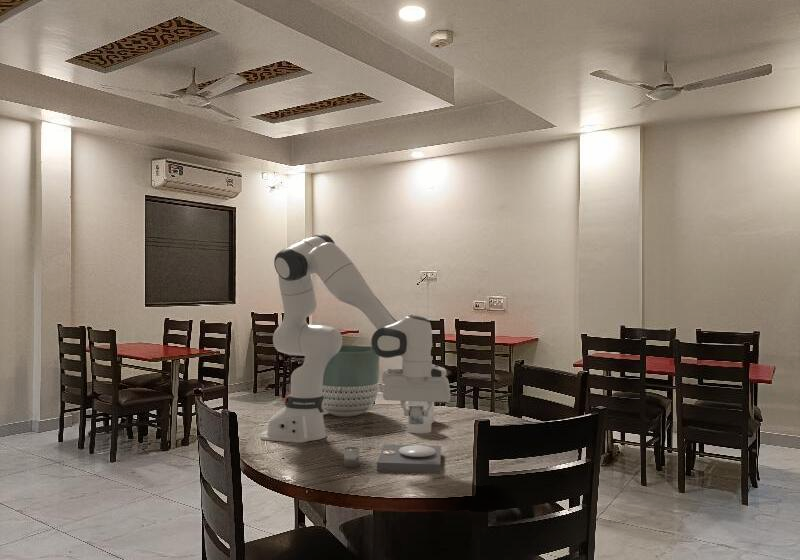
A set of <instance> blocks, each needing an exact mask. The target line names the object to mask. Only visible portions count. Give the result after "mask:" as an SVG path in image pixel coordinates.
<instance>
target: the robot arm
mask: <svg viewBox="0 0 800 560" xmlns="http://www.w3.org/2000/svg"><path fill="white" fill-rule="evenodd" d="M273 262H274V265H273V266H274V268H275V271H276V273H277V275H278V285H279V290H280V297H281V301H282V306H283V318H282V322H281V323H280V324H279V326H277V328H276V329H275V330H274V332H273V336H272V343H273V346H274V348H275V350H276V351H277V352H279V353H283V354H284V355H288V356H304V360H303V364H302V365H301V366H299V367H297V368H295V369H294V370H293V371H292V373H291V375H290V393H289V394H287V395H286V397H285V398H284V402H283V403H284V407H283V408H281V409H280V410H278V411H277V412H276V413H274V415H273V416H271V417H270V419H269V421H268V425H267V429H266V430H264V431H262V433H260V440H263V441H266V440H267V441H277V442H284V443H285V442H287V443H297V444H303V443H306V442H311V441H318V440H322V439H324V438H326V437H327V431H326V427H325V420H324V411H325V410H324V396H323V376H324V371H325V368H326V366H327V364H328V362H329V361H330V359H331V358H332V357H333V356H335V355H336V354H337V353H338V352H339V351H340V349H341V346H342V345H343V336H342V334H341V331H340V330H339V329H338V328H337V327H333V326H329V325H325V324H310V323H308V322H307V318H308V317H309V316H311V315H312V314H313V313H314V312H315V311H316V309H317V299H316V294H315V293H316V292H315V290H314V283H313V280H312V274H314V273H315V274H316V275H317V276H318V277H319V278H320V280H321V281H322V283H323V284H324V285H325V287H326V289H327V290H328V291H329V292H330V293H331V295H332V296H334V297H335V298H336V299H337V300H338V301H340V302H342V303H345V304H348V305H350V306H353V307H355V308H357V309H359V310H360V311H361V313H363V314H364V315H365V316H366V318H367V319H368V320H369V321H370V323H372V325H373V326H374V327H375V329H376V331H374V332H373V334H372V335H371V339H370V340H371V341H370V343H371V344H370V345H371V347H372V348H373V350H374V352H375V353H376V354H377V355H378V356H379V358H380V357H381V358H384V359H391V358H396V357H399V356H400V357H401V358H402V363H401V365H402V368H401V369H399V368H396V369H391V368H389V369H387V370H384V371H383V373H382V382H383V384H384V385H383V390H382V398H383V399H384V400H385V401H393V402H394V401H396V402H397V401H400V406H401V408H402V410H403V417H408V416H409V409H408V408H407V406H406V404H407V403H406V402H408V401H424V402H427V405H429V406H428V408H427V410H424V411H423V413H424V414H423V417H428V415H429V410H430V408H431V406H432V402H434V403H449V401H450V400H451V387H450V382H449V379H448V377H446V376H447V369H446V368H445V367H441V366H439V365H435V364H433V360H432V359H433V358H432V354H431V351H432V348H433V347H432V346H433V334H432V333H433V329H432V325H431V322H430V320H429V319H428V318H426V317H423V316H419V315H413V314H412V315H411V314H409V315H405V316H404V317H403V318H402V319H400V320H396V318H394V317H393V315H392V314H391V313H390V312H389V311H388V310H387V309H386V307H385V306H384V304H382V302H381V301H380V299H379V298H377V296H376V295H375V294H374V292H373V291H372V289H371V288H370V286H369V285H368V283H367V281H366V280H365V279H364V277H363V275H362V274H361V272H360V271H359V269H358V267H357V266H356V265H355V264H354V263H353V262H354V261H352V260H351V259H350V258H349V257H348V255H347V253H345V252H344V251H343V250H342V249H341V248H340V247H339V246H338V245H336V243H335V241H334V240H333V238H332V237H330V236H329V235H327V234H323V233H322V234H316V235H313V236H311V237H307V238H304V239H302V240H299V241H297V242H296V243H293V244H292V245H289V246H288V247H284V248H282V250H279V252H277V253H276V254H275V256H274V259H273Z"/></svg>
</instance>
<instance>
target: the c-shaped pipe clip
mask: <svg viewBox="0 0 800 560" xmlns="http://www.w3.org/2000/svg"><path fill="white" fill-rule="evenodd" d="M407 404H408V405H407V409H409V405H423V406H424V410H427V408H428V406H429V405H427V402H424V401H407ZM434 422H435V402H432V406H431V408H430V410H429V415H428V417H424V423H423V424H410V423H409V416H407V433H409V432H410V434H411V433H412V434H427V433H430V432H432V423H434Z"/></svg>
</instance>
